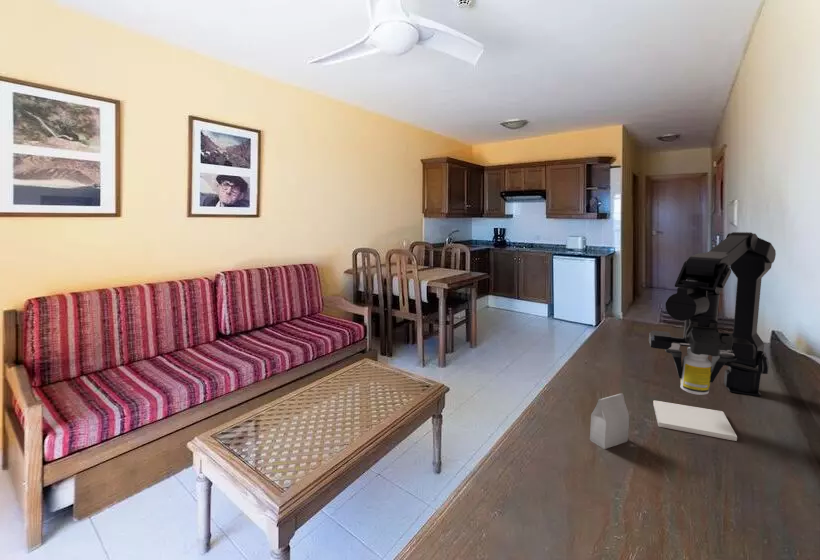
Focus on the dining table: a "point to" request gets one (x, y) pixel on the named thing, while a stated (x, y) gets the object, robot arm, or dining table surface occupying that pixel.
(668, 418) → the ceramic tile
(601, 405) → the milk carton
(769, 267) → the robot arm
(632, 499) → the dining table surface
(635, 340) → the dining table surface
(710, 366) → the supplement bottle
